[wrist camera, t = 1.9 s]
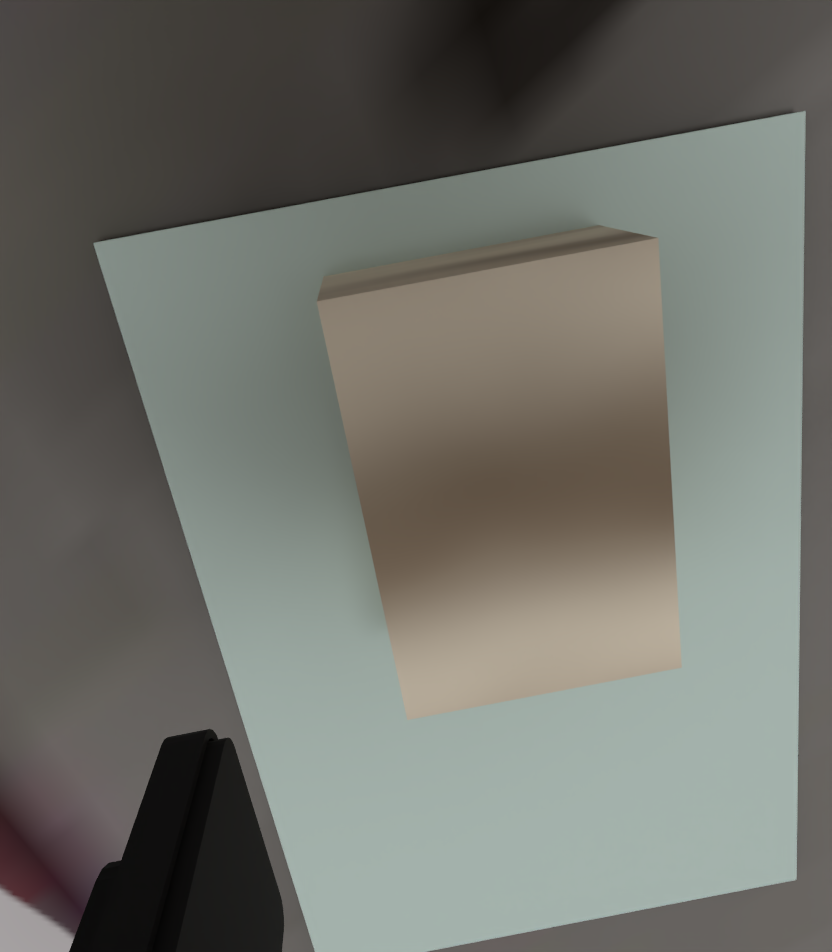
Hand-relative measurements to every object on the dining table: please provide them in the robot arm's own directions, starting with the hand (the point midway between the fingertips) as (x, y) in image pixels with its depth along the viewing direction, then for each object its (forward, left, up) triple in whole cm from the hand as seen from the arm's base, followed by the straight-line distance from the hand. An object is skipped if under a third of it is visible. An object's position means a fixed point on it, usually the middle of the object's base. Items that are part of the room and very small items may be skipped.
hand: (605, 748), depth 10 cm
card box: (-1, 0, -10) cm, 9 cm away
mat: (+4, 0, -10) cm, 11 cm away
